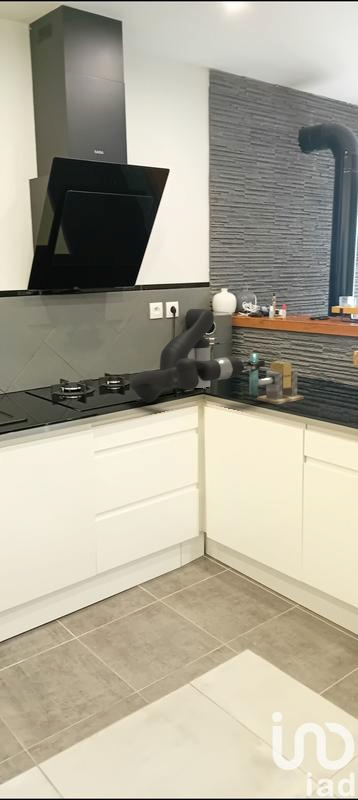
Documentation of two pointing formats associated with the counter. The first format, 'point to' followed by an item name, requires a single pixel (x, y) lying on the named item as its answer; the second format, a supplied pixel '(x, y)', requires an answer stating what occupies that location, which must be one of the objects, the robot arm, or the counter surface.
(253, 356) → the shaft
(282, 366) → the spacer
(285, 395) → the frame
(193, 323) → the robot arm
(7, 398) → the counter surface
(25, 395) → the counter surface
